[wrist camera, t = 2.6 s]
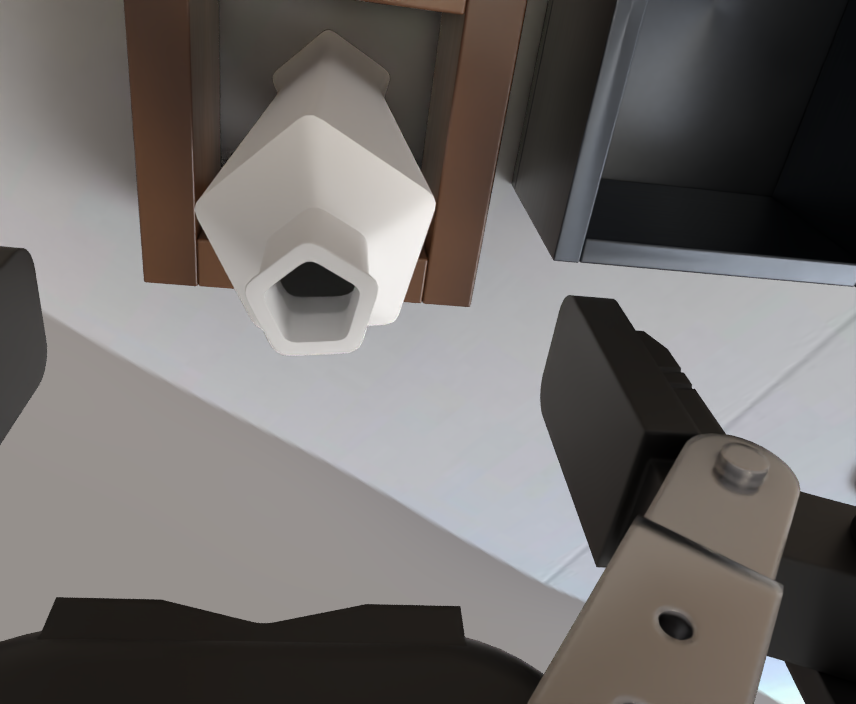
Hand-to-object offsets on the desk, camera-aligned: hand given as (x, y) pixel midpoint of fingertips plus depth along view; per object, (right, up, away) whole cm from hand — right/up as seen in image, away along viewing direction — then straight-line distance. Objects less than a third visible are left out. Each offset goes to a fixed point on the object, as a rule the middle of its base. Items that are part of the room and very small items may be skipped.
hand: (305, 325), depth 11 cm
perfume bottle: (-2, +8, +13) cm, 16 cm away
